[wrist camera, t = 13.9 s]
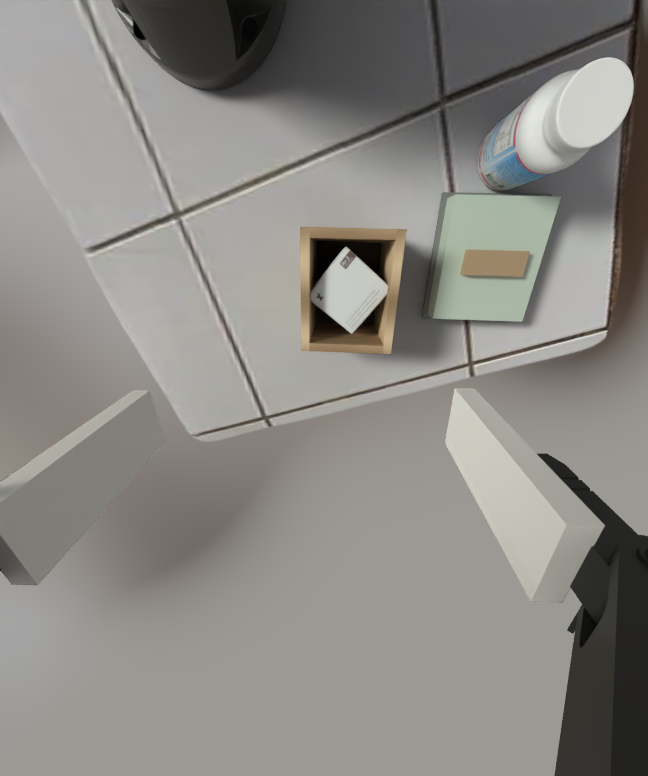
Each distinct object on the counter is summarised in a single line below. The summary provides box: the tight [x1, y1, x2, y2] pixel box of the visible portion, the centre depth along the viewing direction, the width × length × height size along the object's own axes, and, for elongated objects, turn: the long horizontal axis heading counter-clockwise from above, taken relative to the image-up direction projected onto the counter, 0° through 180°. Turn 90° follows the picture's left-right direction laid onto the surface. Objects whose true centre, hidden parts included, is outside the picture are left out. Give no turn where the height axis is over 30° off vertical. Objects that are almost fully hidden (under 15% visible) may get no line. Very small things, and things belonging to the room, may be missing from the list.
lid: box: [427, 194, 561, 322], centre depth 31 cm, size 12×10×4 cm
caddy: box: [300, 227, 407, 354], centre depth 31 cm, size 11×9×9 cm
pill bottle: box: [478, 57, 634, 191], centre depth 24 cm, size 6×6×11 cm
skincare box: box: [311, 247, 388, 334], centre depth 32 cm, size 6×6×7 cm
